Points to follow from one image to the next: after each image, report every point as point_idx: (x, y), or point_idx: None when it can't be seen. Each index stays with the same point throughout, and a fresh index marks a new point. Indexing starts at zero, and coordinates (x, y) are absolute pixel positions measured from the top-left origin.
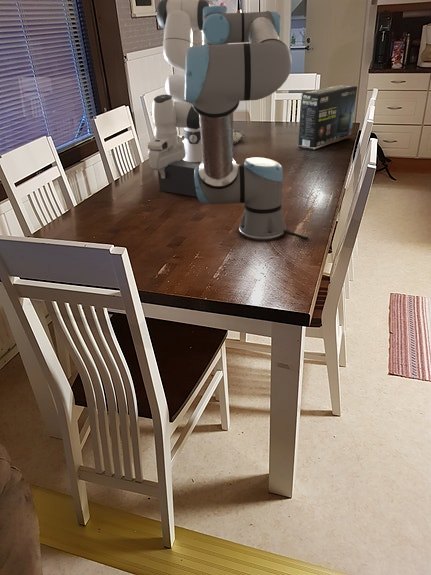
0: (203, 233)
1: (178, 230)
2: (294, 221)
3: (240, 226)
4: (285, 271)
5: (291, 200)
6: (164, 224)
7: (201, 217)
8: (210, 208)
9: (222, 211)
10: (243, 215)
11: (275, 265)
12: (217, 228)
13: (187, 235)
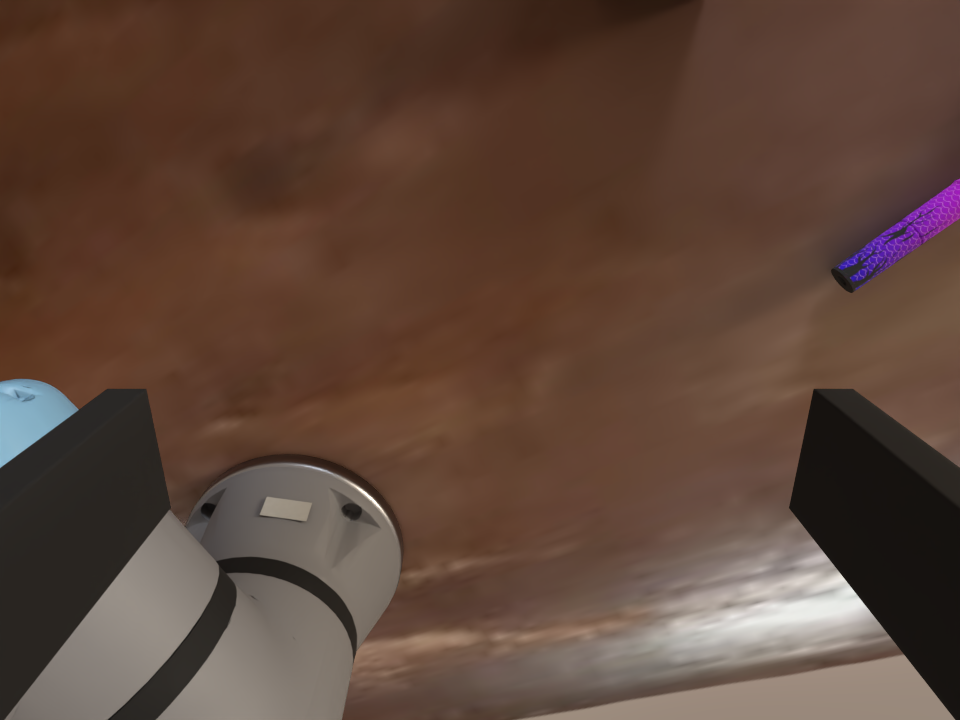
0: (124, 322)
1: (66, 178)
2: (472, 610)
3: (207, 499)
4: None
5: (727, 516)
6: (74, 39)
7: (290, 197)
8: (439, 170)
9: (430, 263)
10: (203, 539)
11: None
12: (216, 354)
13: (52, 261)
